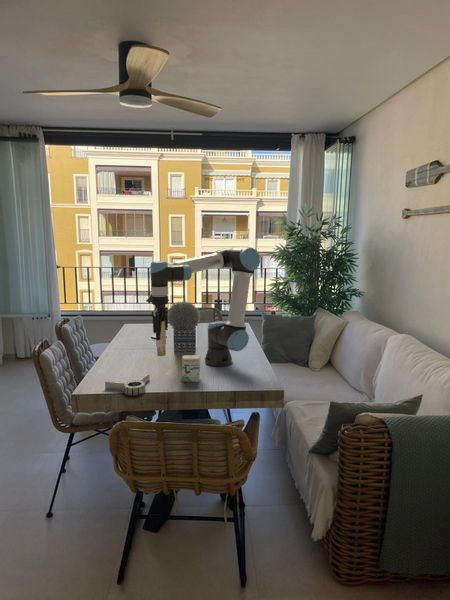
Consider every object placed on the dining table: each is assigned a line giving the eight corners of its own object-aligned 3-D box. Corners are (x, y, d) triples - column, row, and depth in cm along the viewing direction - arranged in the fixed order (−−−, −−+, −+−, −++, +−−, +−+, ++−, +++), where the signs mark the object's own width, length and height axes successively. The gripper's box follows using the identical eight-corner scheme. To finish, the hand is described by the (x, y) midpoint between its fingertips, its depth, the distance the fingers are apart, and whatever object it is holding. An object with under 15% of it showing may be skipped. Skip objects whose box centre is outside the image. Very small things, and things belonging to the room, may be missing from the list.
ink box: (182, 382, 188) (181, 358, 187) (182, 378, 193) (182, 355, 192) (199, 381, 189) (199, 358, 187) (199, 377, 194) (199, 355, 192)
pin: (167, 353, 183) (166, 320, 181) (163, 356, 180) (162, 322, 177) (159, 353, 184) (158, 320, 182) (155, 355, 180) (154, 322, 178)
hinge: (157, 381, 190) (157, 374, 189) (139, 396, 171) (139, 388, 171) (121, 377, 194) (121, 371, 194) (100, 392, 176) (100, 384, 175)
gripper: (159, 292, 187) (160, 340, 190) (143, 298, 170) (145, 349, 174) (174, 293, 185) (175, 341, 188) (160, 298, 168) (161, 350, 172)
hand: (161, 345), depth 181 cm, fingers closed on pin, 4 cm apart
